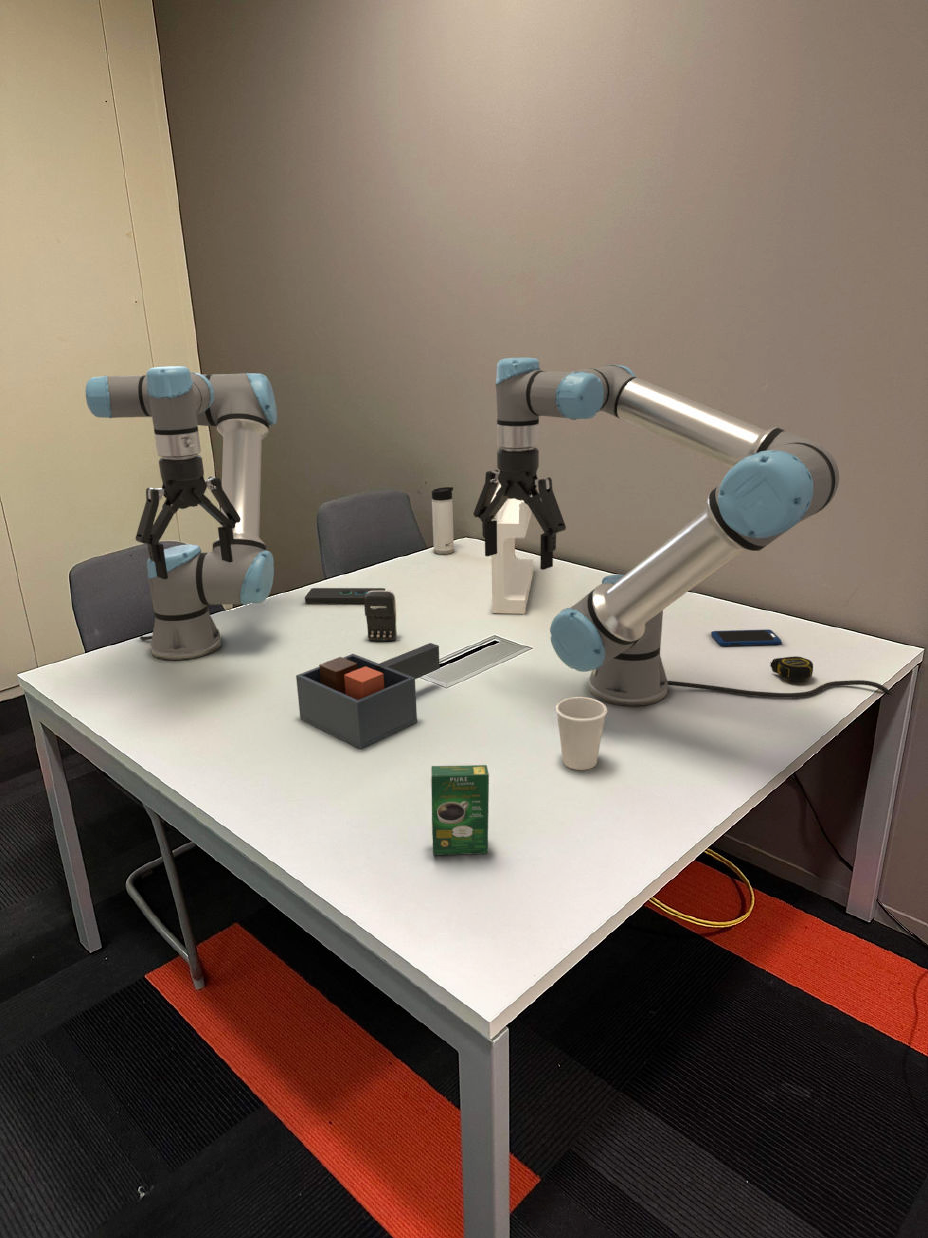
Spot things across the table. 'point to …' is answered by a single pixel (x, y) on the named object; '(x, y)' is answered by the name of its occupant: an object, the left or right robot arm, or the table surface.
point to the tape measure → (793, 668)
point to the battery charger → (380, 615)
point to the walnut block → (336, 673)
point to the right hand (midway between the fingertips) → (518, 561)
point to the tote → (368, 698)
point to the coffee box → (460, 809)
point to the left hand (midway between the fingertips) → (195, 569)
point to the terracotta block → (363, 682)
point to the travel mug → (442, 520)
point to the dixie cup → (580, 731)
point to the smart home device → (338, 595)
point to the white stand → (511, 559)
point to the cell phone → (746, 637)
